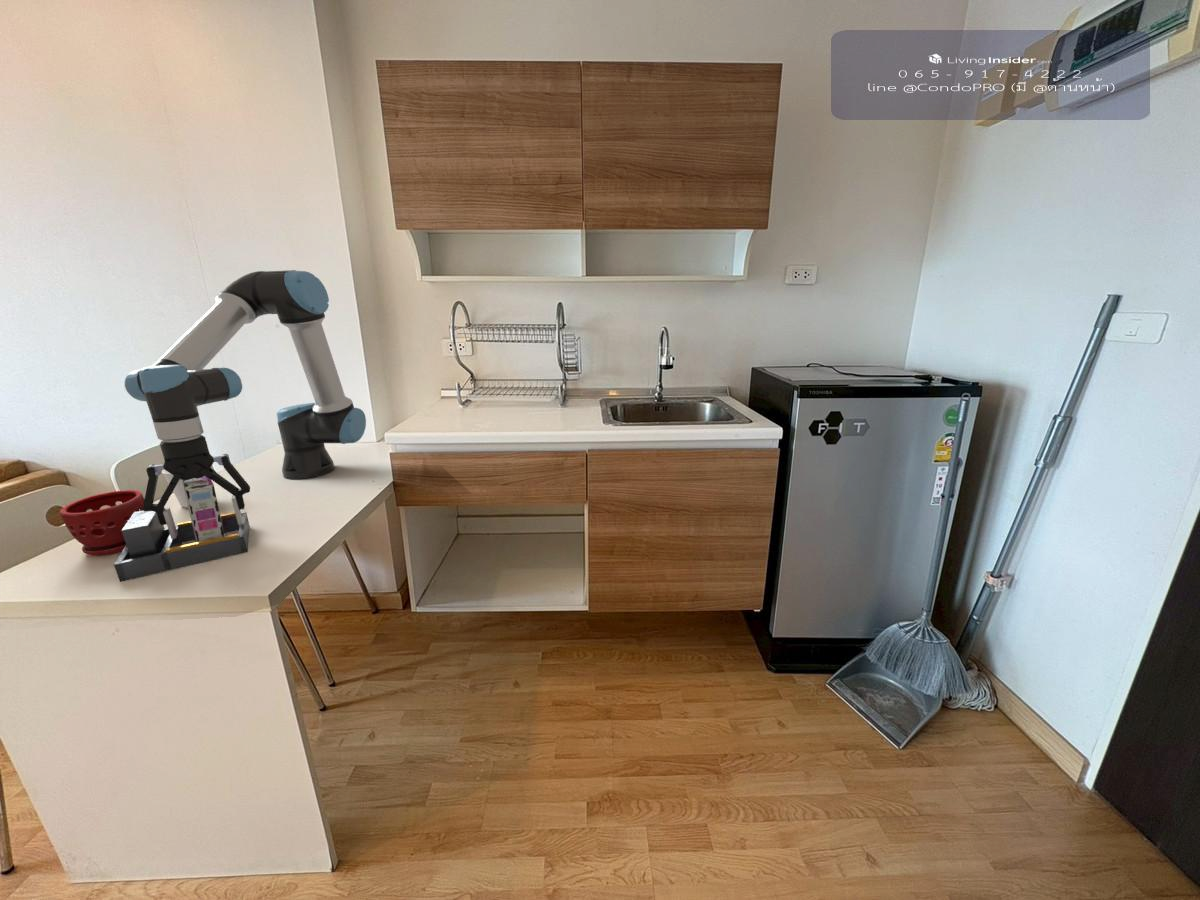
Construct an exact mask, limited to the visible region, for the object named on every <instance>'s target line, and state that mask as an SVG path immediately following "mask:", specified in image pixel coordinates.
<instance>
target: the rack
mask: <svg viewBox="0 0 1200 900" xmlns="http://www.w3.org/2000/svg"><path fill="white" fill-rule="evenodd" d="M241 515H242V519H243V522H242V524H240V525H238V522H237V518H236V514H235V511H234V512H229V513H225V514H220V517H221V522H222V527H223V532H224V536H223V537H219V538H214V539H209V540H205V541H200V542H193V541H196V538H195V534H194V530H193V526H192V521H191V520H190V521H189V520H188V521H184V522H178V523H177V524H176V525H175V526H176V529H177V532H178V534H177V537H176V538H174V539H171V536H170V533H169V530H168V527H166V528H165V526H164V525H161V524H160V522H159V519H158V516H157V513H156V512H154V511H147V512H146V511H138V512H134V513H133V514H132V516H131V517H130V519H129V520H128V522H127V523H126V525H125V526H124V527H123V529H122V533H123V536H124V539H125V542H126V546H125V547H124V549H123V551H122V552H121V553H119V555H118V557H117V559H116V560H115V562H114V563H113V567H114V569H115V572H116V573H115V574H116V575H117V578H118V580H119V583H122V581H123V582H127V581H131V580H134V579H140V578H144V577H147V576H151V575H156V574H157V575H158V574H160V573H164V572H165V573H166V572H169V571H173V570H177V569H180V568H181V569H182V568H186V567H189V566H194V565H199V564H204V563H206V562H207V563H208V562H212V561H215V560H220V559H223V558H224V559H225V558H228V557H233V556H237V555H241V554H245V553H246V554H247V553H248V551H249V541H250V531H251V529H250V527H251V525H250V522H249V517H248V514H247V512H241ZM233 532H238V533H234V534H229V533H233ZM225 534H227V535H225ZM186 542H192V543H187V544H184V543H186ZM130 579H131V580H130ZM126 580H127V581H126Z"/></svg>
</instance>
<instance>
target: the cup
mask: <svg viewBox="0 0 1200 900" xmlns="http://www.w3.org/2000/svg"><path fill="white" fill-rule="evenodd" d="M162 474H163V476H164V478H165V480H166V481H167V483H168V484H169V483H170V481H171V480H172V478H173V476H174V475H172V474H171V473H169V472H168V471H166V470H162V473H161V475H162ZM172 493H173V494H174V496H175V497H176V500H177V501H178V503H179V505H180V507H182V508H185V509H187V508H188V504H187V499H186V495H185V490H184V486H183V481H182V480H181V479H180V480H179V481H178V483H177V485H176V487H175V488H174V490H173V492H172ZM188 509H189V508H188Z"/></svg>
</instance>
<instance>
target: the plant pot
mask: <svg viewBox="0 0 1200 900" xmlns="http://www.w3.org/2000/svg"><path fill="white" fill-rule="evenodd" d="M144 499H145V496H144V495H143V494H142V492H141V491H139V490H134V489H131V490H130V489H129V490H128V489H127V490H126V489H125V490H115V491H109V492H104V493H103V492H102V493H99V494H96V495H91V496H88V497H85V498H82V499H78V500H76V501H73V502H71V503H69V504H67V505H65V506H63V507H62V508H61V509H60V511H59V514H60V517H61V520H62V521H63V523H64V525H65V527H66V528H67V530H68V531H69V534H71V536H72V537H73V539H75V540H76V541H77V542H79V543H80V544H81V545H82V548H81V551H82V553H83V554H85V555H87V556H92V557H93V556H94V557H104V556H112V555H117V554H121V552H122V551H123V549H124V547H125V546H126V542H125V539H124V536H123V533H122V529H123V527H124V526H125V525H126V523H127V522H128V520H129V519H130V517H131V516H132V514H133V513H134V512H138V511H143V504H144ZM117 502H121V503H118V504H117ZM104 506H106V508H102V507H104ZM107 506H108V507H107ZM89 510H90V511H89Z"/></svg>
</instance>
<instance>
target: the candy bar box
mask: <svg viewBox="0 0 1200 900" xmlns="http://www.w3.org/2000/svg"><path fill="white" fill-rule="evenodd" d="M182 481H183V486H184V490H185V495H186V499H187V504H188V512H189V516H190V521H192V526H193V530H194V534H195V538H196V540H195V541H196V542H200V541H205V540H209V539H214V538H219V537H223V536H225V534H224V532H223V527H222V522H221V517H220V515H221V513H220V508H219V504H218V499H217V498H218V497H217V495H216V494H217V493H216V489H215V484H214V483H213V482H214V481H212V480H211V479H209V478H207V477H206V476H203V477H202V478H192V479H189V480H185V481H184V480H182Z"/></svg>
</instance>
